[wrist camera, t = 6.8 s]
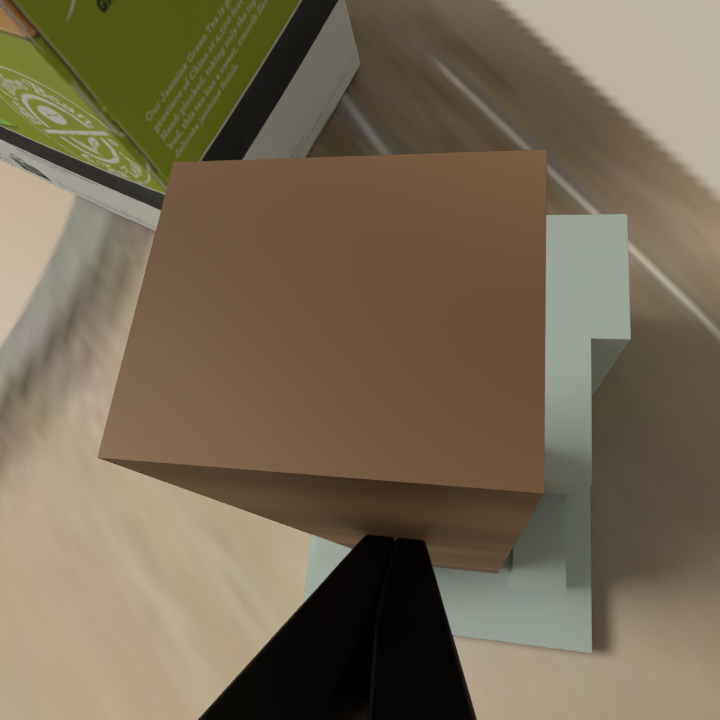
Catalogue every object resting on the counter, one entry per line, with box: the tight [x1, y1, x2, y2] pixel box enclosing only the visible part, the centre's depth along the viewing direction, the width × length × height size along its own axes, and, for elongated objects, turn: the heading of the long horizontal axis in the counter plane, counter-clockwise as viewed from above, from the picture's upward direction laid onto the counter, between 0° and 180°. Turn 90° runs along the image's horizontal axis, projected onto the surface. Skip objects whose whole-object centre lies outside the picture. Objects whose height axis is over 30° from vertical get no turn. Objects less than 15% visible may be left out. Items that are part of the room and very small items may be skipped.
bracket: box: [304, 214, 631, 653], centre depth 16 cm, size 10×8×6 cm
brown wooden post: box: [97, 149, 547, 574], centre depth 11 cm, size 2×3×14 cm
